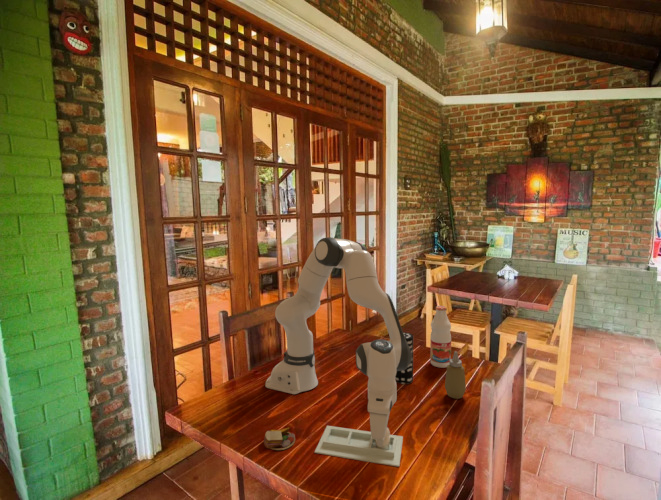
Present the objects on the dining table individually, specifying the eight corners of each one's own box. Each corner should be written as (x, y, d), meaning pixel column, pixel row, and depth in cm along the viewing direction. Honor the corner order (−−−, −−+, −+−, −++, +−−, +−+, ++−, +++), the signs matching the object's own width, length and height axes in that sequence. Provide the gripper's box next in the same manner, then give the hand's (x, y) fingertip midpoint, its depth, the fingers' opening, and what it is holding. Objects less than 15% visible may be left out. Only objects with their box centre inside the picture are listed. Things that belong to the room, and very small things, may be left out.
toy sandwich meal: (295, 451, 115) (295, 440, 114) (262, 453, 114) (262, 443, 113) (295, 432, 124) (294, 423, 123) (265, 435, 123) (264, 425, 122)
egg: (374, 450, 113) (374, 429, 112) (376, 441, 117) (376, 421, 116) (388, 452, 112) (388, 431, 111) (390, 443, 116) (390, 423, 115)
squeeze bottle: (447, 388, 151) (447, 346, 149) (467, 393, 146) (468, 350, 144) (442, 397, 144) (442, 353, 142) (463, 402, 140) (464, 357, 138)
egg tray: (314, 452, 113) (314, 446, 113) (327, 426, 126) (327, 421, 126) (399, 466, 106) (399, 460, 106) (403, 437, 119) (403, 431, 119)
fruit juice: (447, 359, 179) (448, 304, 175) (453, 368, 169) (454, 309, 166) (428, 359, 179) (428, 304, 176) (432, 368, 170) (433, 309, 167)
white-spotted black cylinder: (393, 383, 156) (392, 338, 154) (394, 374, 164) (394, 331, 162) (412, 384, 154) (413, 339, 152) (413, 376, 162) (413, 332, 160)
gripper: (376, 377, 123) (377, 415, 125) (366, 409, 103) (366, 454, 105) (395, 379, 121) (395, 418, 123) (388, 412, 102) (388, 458, 103)
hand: (382, 435), depth 114 cm, fingers open, 8 cm apart
